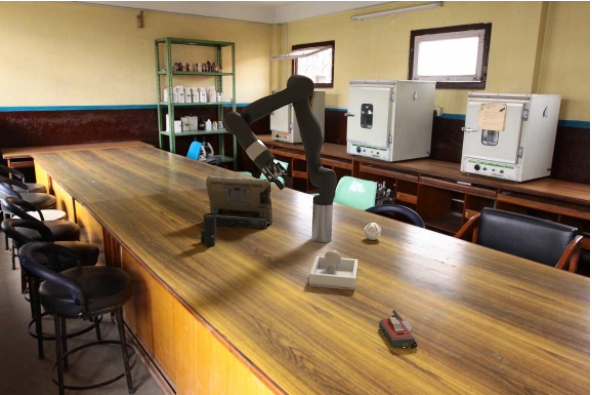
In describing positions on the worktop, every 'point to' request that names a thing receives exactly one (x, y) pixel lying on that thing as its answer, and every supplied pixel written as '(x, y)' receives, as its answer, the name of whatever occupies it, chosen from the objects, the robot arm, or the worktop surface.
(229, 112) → the robot arm
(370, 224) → the white textured ball
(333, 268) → the lightbulb
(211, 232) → the scope
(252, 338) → the worktop surface
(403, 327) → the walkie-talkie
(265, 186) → the tablet
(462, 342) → the worktop surface
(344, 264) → the tray
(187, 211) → the worktop surface
